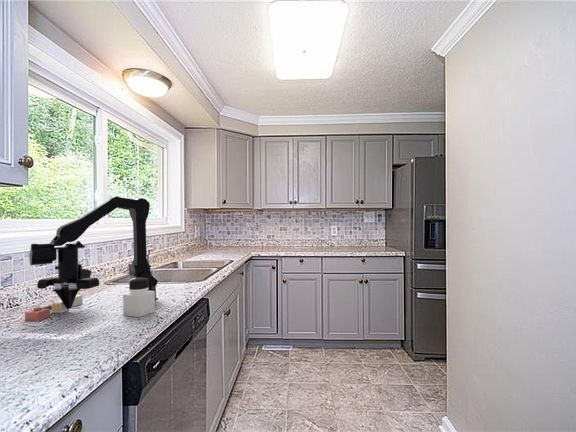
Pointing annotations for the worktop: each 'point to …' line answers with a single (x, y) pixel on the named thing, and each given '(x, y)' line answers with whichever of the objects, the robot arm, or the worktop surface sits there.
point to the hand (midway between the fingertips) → (69, 308)
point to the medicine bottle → (138, 298)
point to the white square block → (78, 300)
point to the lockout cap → (37, 314)
